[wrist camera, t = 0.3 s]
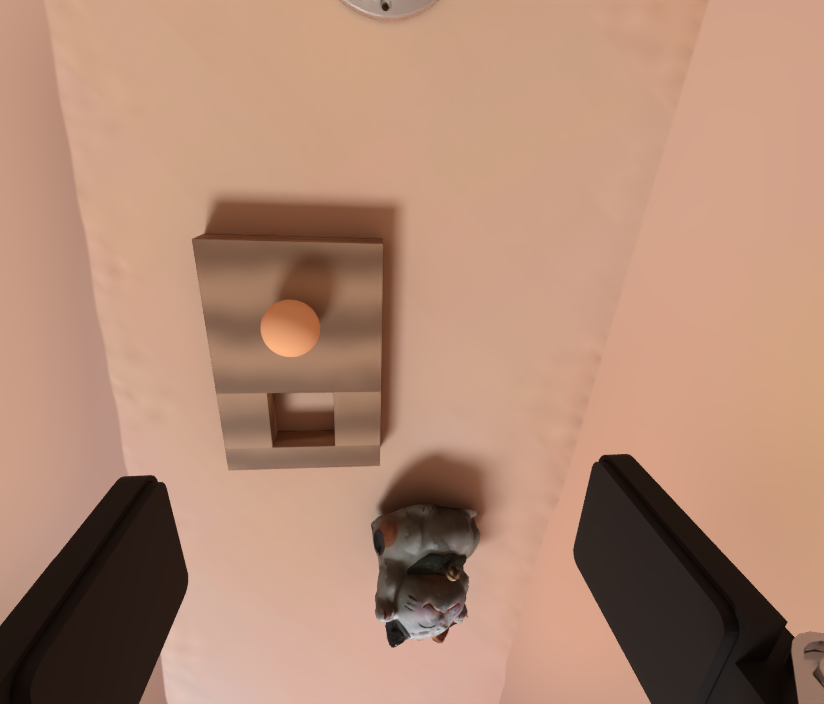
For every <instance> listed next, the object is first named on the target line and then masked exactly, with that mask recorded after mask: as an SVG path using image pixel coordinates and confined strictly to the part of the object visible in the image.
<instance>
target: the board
mask: <svg viewBox="0 0 824 704" xmlns="http://www.w3.org/2000/svg"><path fill="white" fill-rule="evenodd" d="M192 243H193V250H194V256H195V262H196V268H197V275H198V281H199V287H200V294H201V300H202V306H203V313H204V319H205V325H206V331H207V338H208V344H209V350H210V357H211V363H212V369H213V376H214V382H215V388H216V394H217V401H218V407H219V413H220V420H221V426H222V432H223V439H224V445H225V451H226V458H227V464H228V470H257V469H290V468H322V467H355V466H380V416H381V350H382V284H383V242H382V239H372V238H335V237H299V236H262V235H226V234H203V235H200V236H198V237H196V238H193V239H192ZM282 300H298V301H301V302H303V303H305V304H307V305H308V306H309V307H311V308H312V309H313V310H314V312H315V313H316V315H317V317H318V319H319V322H320V335H319V339H318V341H317V343H316V344H315V346H314V347H313V348H312V349H311V350H310V351H309V352H307V353H305V354H303V355H301V356H297V357H285V356H281V355H278V354H276V353H275V352H273V351H272V350H270V349H269V348H268V347H267V345H266V344H265V342H264V340H263V338H262V335H261V328H260V327H261V321H262V318H263V315H264V314H265V312H266V311H267V310H268V308H269V307H271V306H272V305H273V304H275V303H277V302H279V301H282ZM325 392H333V394H334V423H335V430H322V431H278V429H277V419H276V409H275V399H274V393H325Z"/></svg>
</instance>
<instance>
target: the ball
mask: <svg viewBox="0 0 824 704" xmlns="http://www.w3.org/2000/svg"><path fill="white" fill-rule="evenodd" d="M260 328H261V335H262V338H263V340H264V342H265V344H266V345H267V347H268V348H269V349H270V350H272V351H273V352H275V353H276V354H278V355H281V356H285V357H297V356H301V355H303V354H305V353H307V352H309V351H310V350H311V349H312V348H313V347H314V346H315V344H316V343H317V341H318V339H319V335H320V322H319V319H318V317H317V315H316V313H315V312H314V310H313V309H312V308H311V307H309V306H308V305H307V304H305V303H303V302H301V301H298V300H282V301H279V302H277V303H275V304H273V305H272V306H271V307H269V308H268V310H267V311H266V312H265V314H264V315H263V318H262V321H261V327H260Z"/></svg>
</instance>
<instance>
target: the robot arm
mask: <svg viewBox="0 0 824 704" xmlns="http://www.w3.org/2000/svg"><path fill="white" fill-rule="evenodd" d="M340 1H341V2H342V3H344V4H345V5H346V6H348V7H350V8H351V9H353V10H354V11H356V12H357V13H359V14H362V15H364V16H367V17H370V18H372V19H377V20H384V21H396V20H405V19H408V18H411V17H414V16H417V15H419V14H421V13H422V12H424V11H426V10H427V9H429V8H431V7H432V6H433V5H434V4H435V3H436V2H437V1H439V0H340ZM385 4H386V5H387V6H388V8H389V9H388V10H387V11H384V10H383V9H382V6H383V5H385ZM573 551H574V559H575V562H576V565H577V567H578V569H579V570H580V572H581V574H582V576H583V578H584V580H585V582H586V583H587V585H588V587H589V589H590V591H591V593H592V594H593V596H594V598H595V600H596V602H597V604H598V606H599V608H600V609H601V611H602V613H603V615H604V617H605V619H606V621H607V622H608V624H609V626H610V628H611V630H612V632H613V634H614V635H615V637H616V639H617V641H618V643H619V645H620V647H621V648H622V650H623V652H624V654H625V656H626V658H627V659H628V661H629V663H630V665H631V667H632V669H633V671H634V673H635V674H636V676H637V678H638V680H639V682H640V684H641V686H642V687H643V689H644V691H645V693H646V695H647V697H648V698H649V700H650V702H651V704H824V633H817V632H806V633H801V634H799V635H797V636H796V637H794V636H793V635H792V634H791V633H790V632H789V631H788V630H787V629H786V628H785V626H786V624H787V621H786V620H785V619H784V618H783V617H782V615H780V613H779V612H778V611H777V610H776V609H775V608H774V607H773V606H772V605H771V604H770V603H769V602H768V601H767V599H766V598H765V597H764V596H763V595H762V594H761V593H760V592H759V591H758V590H757V589H756V588H755V587H754V586H753V585H752V584H751V582H750V581H749V580H748V579H747V578H746V577H745V576H744V575H743V574H742V573H741V572H740V571H739V570H738V569H737V567H736V566H735V565H734V564H733V563H732V562H731V561H730V560H729V559H728V558H727V557H726V556H725V555H724V554H723V553H722V552H721V550H720V549H719V548H718V547H717V546H716V545H715V544H714V543H713V542H712V541H711V540H710V539H709V538H708V537H707V536H706V535H705V533H703V531H702V530H701V529H700V528H699V527H698V526H697V525H696V524H695V523H694V522H693V521H692V520H691V519H690V517H689V516H688V515H687V514H686V513H685V512H684V511H683V510H682V509H681V508H680V507H679V506H678V505H677V504H676V502H675V501H674V500H673V499H672V498H671V497H670V496H669V495H668V494H667V493H666V492H665V491H664V490H663V489H662V488H661V486H660V485H659V484H658V483H657V482H656V481H655V480H654V479H653V478H652V477H651V476H650V475H649V474H648V473H647V472H646V471H645V470H644V468H642V466H641V465H640V464H639V463H638V462H637V461H636V460H635V459H634V458H633V457H632V456H631V455H628V454H617V455H603V456H601V458H600V459H599V462H595V463H594V464H593V466H592V471H591V475H590V479H589V483H588V487H587V492H586V496H585V500H584V505H583V509H582V513H581V518H580V522H579V527H578V531H577V535H576V540H575V544H574V550H573ZM187 586H188V572H187V568H186V564H185V560H184V556H183V552H182V548H181V544H180V540H179V536H178V532H177V528H176V524H175V520H174V516H173V512H172V508H171V504H170V500H169V496H168V492H167V488H166V485H165V484H164V483H163V482H158V481H157V479H156V477H155V476H152V475H147V476H125V477H121V478H120V479H118V480H117V481H116V483H115V484H114V485H113V486H112V487H111V489H110V490H109V491H108V493H107V494H106V495H105V496H104V498H103V499H102V500H101V501H100V503H99V504H98V505H97V506H96V508H95V509H94V510H93V511H92V513H91V514H90V515H89V516H88V518H87V519H86V520H85V521H84V523H83V524H82V525H81V526H80V528H79V529H78V530H77V531H76V533H75V534H74V535H73V536H72V538H71V539H70V540H69V541H68V543H67V544H66V545H65V547H64V548H63V549H62V550H61V552H60V553H59V554H58V555H57V556H56V557H55V558H54V560H53V561H52V562H51V563H50V564H49V566H48V567H47V568H46V569H45V571H44V572H43V573H42V574H41V576H40V577H39V578H38V579H37V581H36V582H35V583H34V585H33V586H32V587H31V588H30V589H29V591H28V592H27V593H26V594H25V596H24V597H23V598H22V599H21V601H20V602H19V603H18V605H17V606H16V607H15V608H14V609H13V611H12V612H11V613H10V614H9V616H8V617H7V618H6V619H5V621H4V622H3V623H2V624H1V626H0V704H139V702H140V700H141V697H142V695H143V693H144V691H145V688H146V686H147V683H148V681H149V679H150V676H151V674H152V672H153V669H154V667H155V665H156V662H157V660H158V657H159V655H160V653H161V650H162V648H163V646H164V643H165V641H166V638H167V636H168V634H169V631H170V629H171V627H172V624H173V622H174V620H175V617H176V615H177V612H178V610H179V608H180V605H181V603H182V601H183V598H184V596H185V593H186V590H187Z"/></svg>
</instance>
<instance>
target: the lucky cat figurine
mask: <svg viewBox="0 0 824 704" xmlns="http://www.w3.org/2000/svg"><path fill="white" fill-rule="evenodd" d="M478 514H480V513H479V512H477V511H476V510H473V509H455V508H449V507H445V506H440V505H434V504H428V505H420V504H417V505H413V506H408V507H405V508H402V509H399V510H396V511H394V512H391V513H389V514H386V515H384V516H380V517H378V518H377V519H376V520H375V521H373V522H372V524H371V527H372V532H373V542H374V548H375V551H376V553H377V556H378V561H379V576H378V583H377V593H376V595H375V602H376V609H375V614H376V618H377V619H378V620H379V621H382V622H384V623H385V622H386V625H385V627H386V632H387V639H388V642H389V645H390V646H391V647H393V648H394V647H396V646H398V645H400V644H401V643H403V642H404V641H405V640H406V639H416V640H423V639H425V638H431V637H432V639H433V641H435V642H437V643H443V641H444V639H445V637H446V635H447V633H448V631H449V628H450V627H451V626H453V625H454V624H457V623H462V621H463V619H464V618H468V616H467V609H466V605H465V601H466V594H467V591H468V587H469V586H468V583H469V577H468V576H467V574H466V573H465V572H464V570H463V565H464V564H465V562H466V559H467V558H469V557H470V556H471V555H472V553H473V552H474V551H475V549H476V547H477V546H478V543H479V539H480V532H479V529H478V528H477V526H476V525H475V521H474V518H475V516H476V515H478Z"/></svg>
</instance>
